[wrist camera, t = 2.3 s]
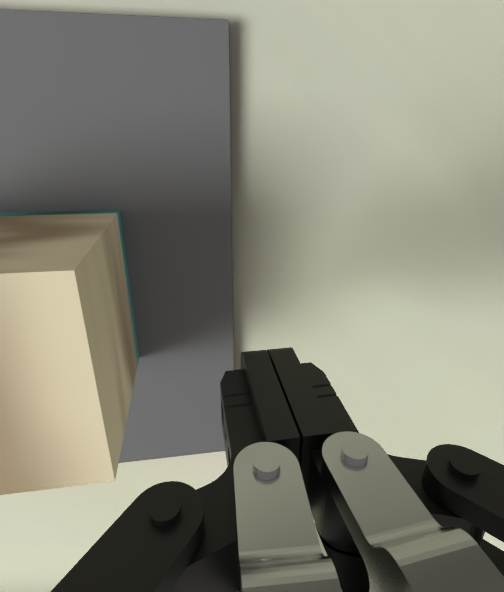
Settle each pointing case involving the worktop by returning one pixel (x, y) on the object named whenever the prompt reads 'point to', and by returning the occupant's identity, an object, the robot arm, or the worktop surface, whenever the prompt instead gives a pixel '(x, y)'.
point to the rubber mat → (136, 189)
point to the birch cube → (63, 348)
